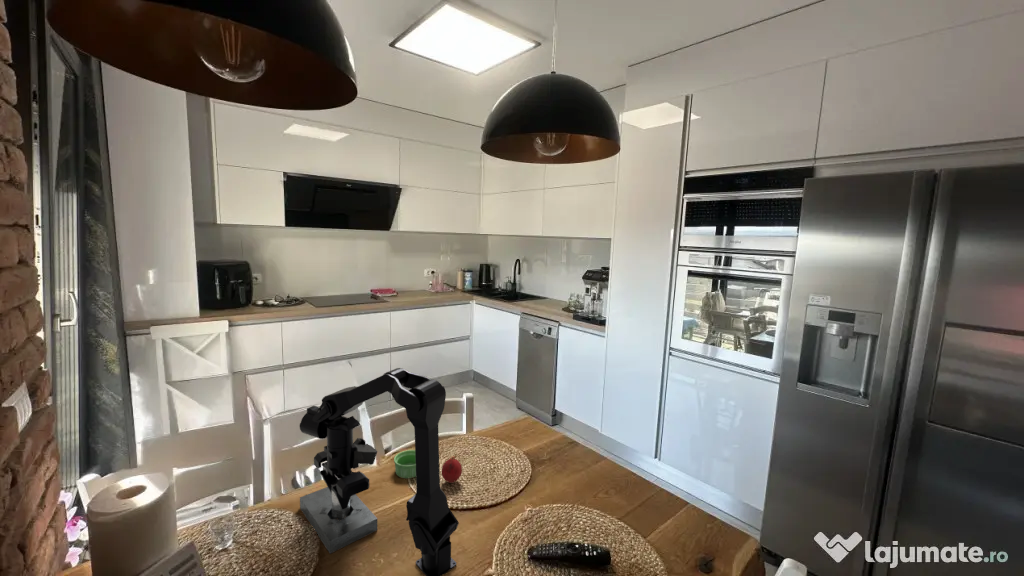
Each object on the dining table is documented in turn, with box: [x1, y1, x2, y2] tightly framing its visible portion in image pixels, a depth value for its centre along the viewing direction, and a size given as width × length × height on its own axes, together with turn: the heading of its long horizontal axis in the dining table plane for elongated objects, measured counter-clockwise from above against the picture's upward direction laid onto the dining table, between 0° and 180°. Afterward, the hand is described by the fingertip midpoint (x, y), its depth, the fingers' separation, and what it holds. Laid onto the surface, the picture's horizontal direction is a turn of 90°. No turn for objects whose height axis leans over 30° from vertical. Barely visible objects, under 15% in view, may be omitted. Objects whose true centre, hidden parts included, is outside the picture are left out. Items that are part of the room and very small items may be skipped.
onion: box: [441, 455, 463, 484], centre depth 116 cm, size 6×6×8 cm
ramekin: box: [393, 449, 416, 479], centre depth 121 cm, size 9×9×4 cm
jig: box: [299, 486, 378, 555], centre depth 99 cm, size 20×11×3 cm, turn 44°
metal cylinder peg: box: [332, 479, 350, 520], centre depth 97 cm, size 4×4×8 cm
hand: (340, 503), depth 98 cm, fingers closed on metal cylinder peg, 4 cm apart
